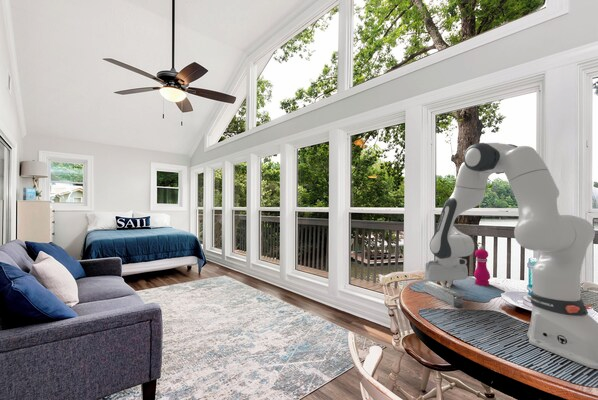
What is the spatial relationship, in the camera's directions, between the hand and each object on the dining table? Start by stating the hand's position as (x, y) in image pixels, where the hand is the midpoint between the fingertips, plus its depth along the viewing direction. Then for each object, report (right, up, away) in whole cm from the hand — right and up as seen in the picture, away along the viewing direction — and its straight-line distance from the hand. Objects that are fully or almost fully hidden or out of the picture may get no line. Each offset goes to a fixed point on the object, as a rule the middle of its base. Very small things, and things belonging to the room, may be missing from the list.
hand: (446, 289), depth 132 cm
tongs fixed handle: (-4, -3, -4) cm, 6 cm away
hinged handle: (-3, -3, -3) cm, 5 cm away
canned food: (+9, -3, +19) cm, 21 cm away
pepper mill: (+28, -3, +18) cm, 34 cm away
